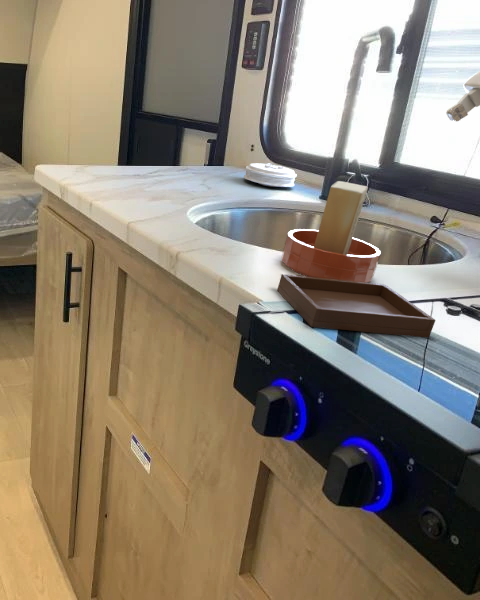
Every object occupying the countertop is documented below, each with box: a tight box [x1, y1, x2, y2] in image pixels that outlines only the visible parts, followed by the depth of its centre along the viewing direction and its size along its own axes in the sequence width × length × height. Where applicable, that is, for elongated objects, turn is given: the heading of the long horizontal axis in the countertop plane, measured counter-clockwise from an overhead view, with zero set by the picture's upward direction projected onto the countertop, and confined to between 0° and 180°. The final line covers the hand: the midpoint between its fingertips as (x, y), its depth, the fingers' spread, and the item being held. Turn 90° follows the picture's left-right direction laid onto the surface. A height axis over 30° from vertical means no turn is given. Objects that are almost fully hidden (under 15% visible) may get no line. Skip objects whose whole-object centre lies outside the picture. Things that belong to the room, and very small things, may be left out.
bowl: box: [281, 228, 382, 283], centre depth 88 cm, size 13×13×4 cm
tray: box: [277, 273, 436, 339], centre depth 73 cm, size 14×11×2 cm
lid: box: [243, 162, 298, 188], centre depth 152 cm, size 13×13×5 cm
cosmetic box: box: [314, 180, 369, 255], centre depth 86 cm, size 6×4×12 cm
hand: (466, 120), depth 79 cm, fingers open, 8 cm apart
